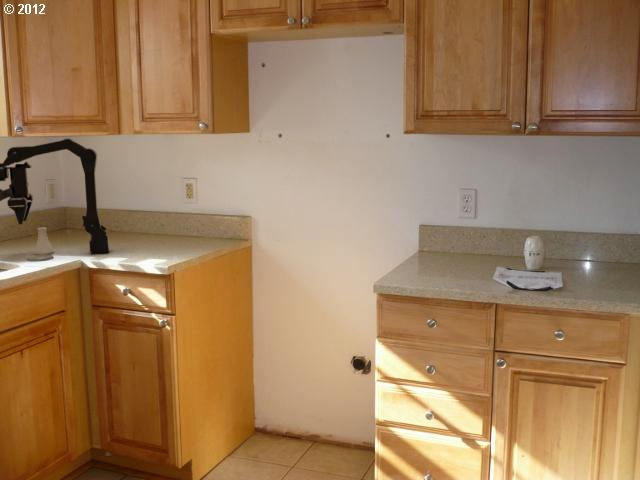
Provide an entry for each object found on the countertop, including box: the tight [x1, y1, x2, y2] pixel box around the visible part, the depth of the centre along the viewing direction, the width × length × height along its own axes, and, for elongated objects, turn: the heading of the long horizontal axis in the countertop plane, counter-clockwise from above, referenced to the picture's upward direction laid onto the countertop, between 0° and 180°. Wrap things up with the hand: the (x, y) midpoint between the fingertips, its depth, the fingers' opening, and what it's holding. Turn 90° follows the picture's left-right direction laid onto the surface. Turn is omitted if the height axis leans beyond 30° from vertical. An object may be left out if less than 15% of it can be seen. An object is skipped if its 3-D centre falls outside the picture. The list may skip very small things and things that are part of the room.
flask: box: [33, 227, 55, 255], centre depth 272 cm, size 7×7×10 cm
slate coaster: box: [26, 254, 54, 262], centre depth 263 cm, size 9×9×1 cm
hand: (22, 222), depth 265 cm, fingers open, 9 cm apart
